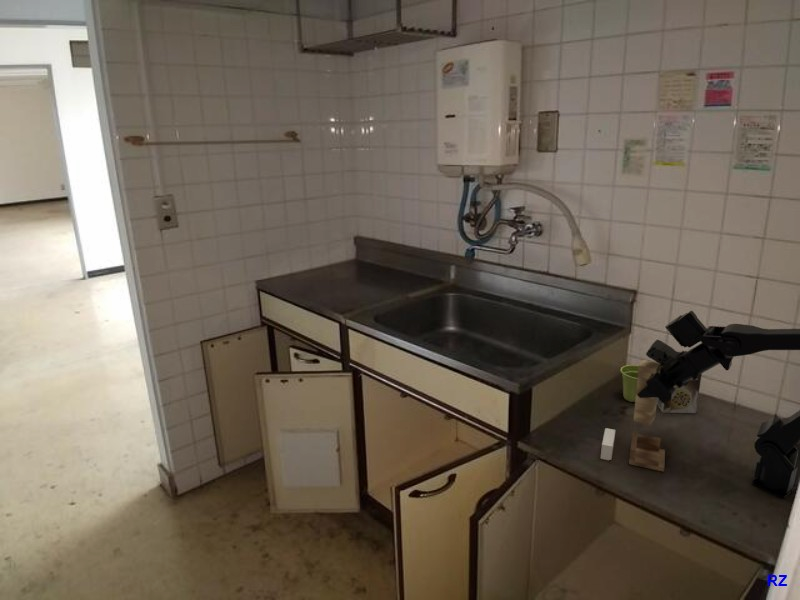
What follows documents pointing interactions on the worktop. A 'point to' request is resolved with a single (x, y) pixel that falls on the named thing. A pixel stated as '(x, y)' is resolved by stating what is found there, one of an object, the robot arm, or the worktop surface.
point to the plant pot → (630, 381)
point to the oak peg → (645, 406)
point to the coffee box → (683, 398)
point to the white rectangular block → (607, 444)
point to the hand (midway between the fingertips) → (641, 392)
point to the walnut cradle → (647, 452)
